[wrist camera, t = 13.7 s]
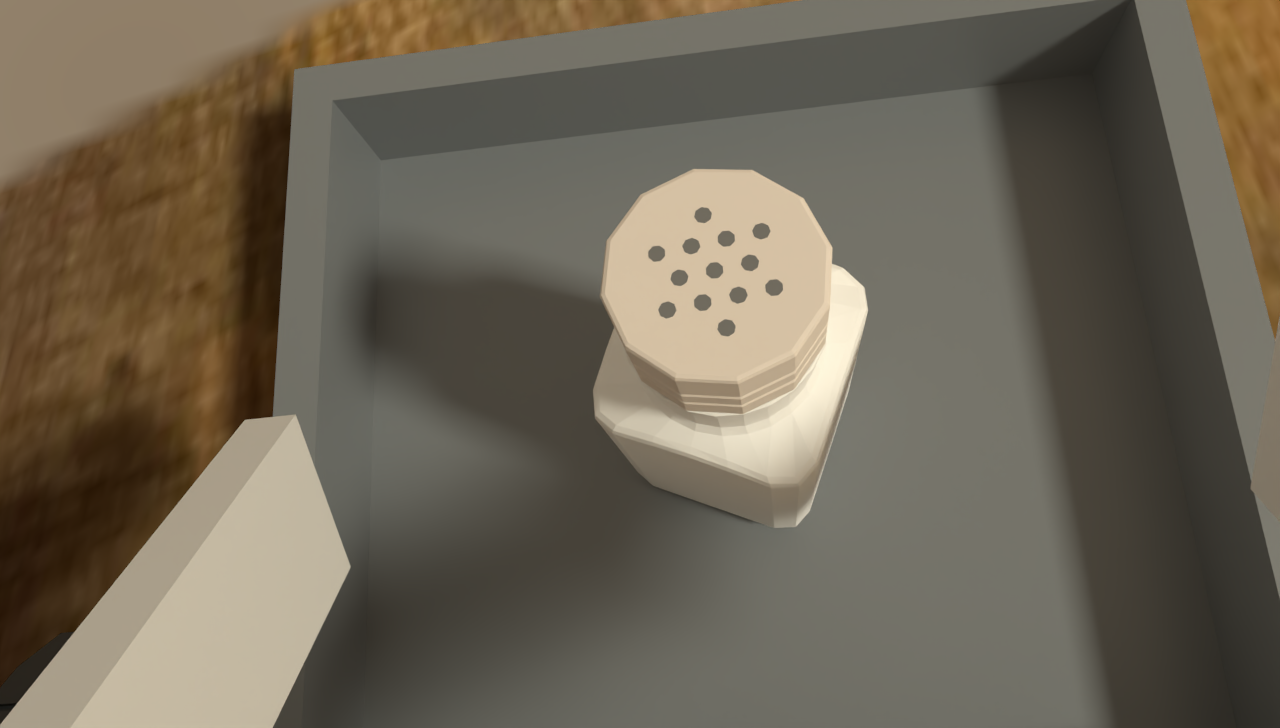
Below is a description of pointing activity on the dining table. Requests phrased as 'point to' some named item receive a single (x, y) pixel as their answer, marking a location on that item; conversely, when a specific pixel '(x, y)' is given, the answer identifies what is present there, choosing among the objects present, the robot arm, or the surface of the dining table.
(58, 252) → the dining table surface
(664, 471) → the pepper shaker
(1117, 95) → the box
